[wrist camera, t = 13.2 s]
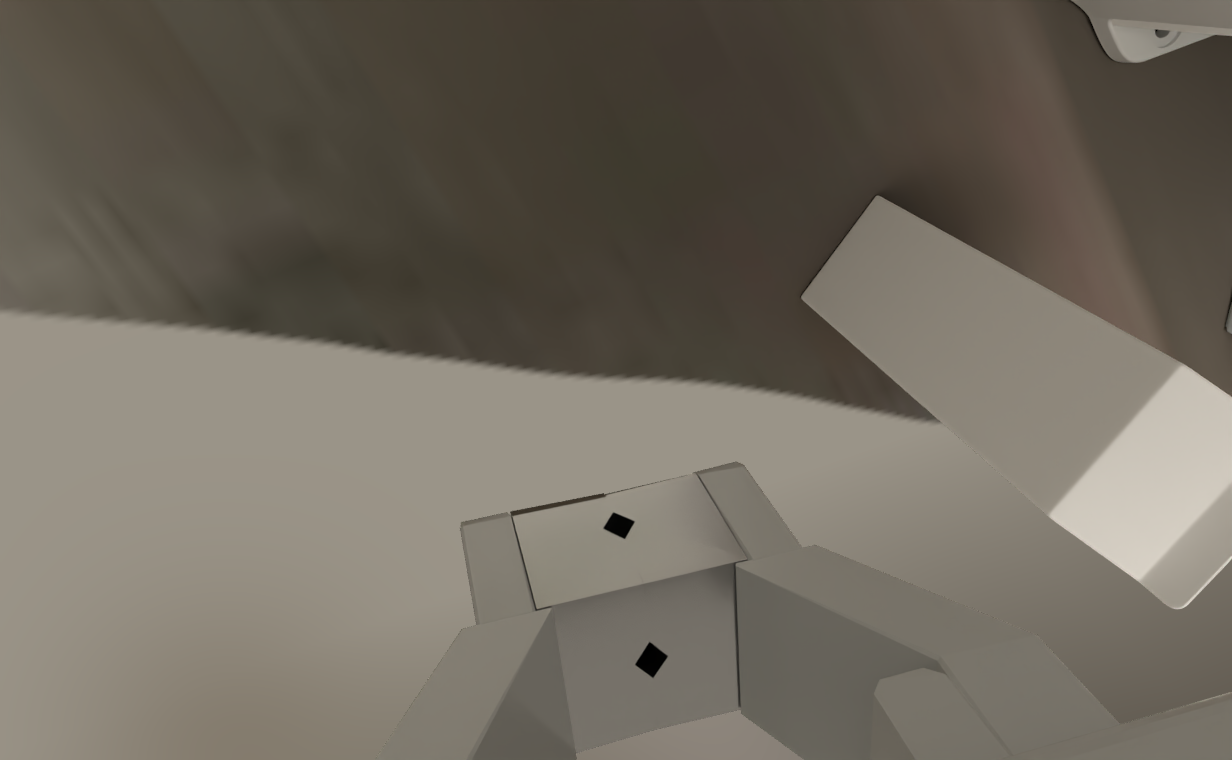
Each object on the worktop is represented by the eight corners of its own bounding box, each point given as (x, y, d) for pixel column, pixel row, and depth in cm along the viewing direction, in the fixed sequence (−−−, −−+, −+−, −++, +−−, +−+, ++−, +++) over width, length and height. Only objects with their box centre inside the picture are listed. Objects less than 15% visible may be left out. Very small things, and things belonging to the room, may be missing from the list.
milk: (798, 297, 46) (1113, 580, 26) (876, 191, 44) (1272, 410, 25) (883, 352, 48) (1226, 648, 29) (960, 254, 47) (1376, 497, 27)
